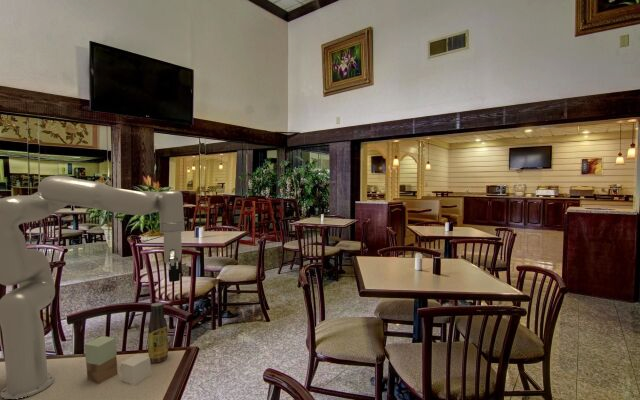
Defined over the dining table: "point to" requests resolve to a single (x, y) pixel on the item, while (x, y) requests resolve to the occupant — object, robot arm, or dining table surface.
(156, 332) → the sauce bottle
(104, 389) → the dining table surface
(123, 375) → the stone cube
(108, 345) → the sage cube
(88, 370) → the walnut cube
